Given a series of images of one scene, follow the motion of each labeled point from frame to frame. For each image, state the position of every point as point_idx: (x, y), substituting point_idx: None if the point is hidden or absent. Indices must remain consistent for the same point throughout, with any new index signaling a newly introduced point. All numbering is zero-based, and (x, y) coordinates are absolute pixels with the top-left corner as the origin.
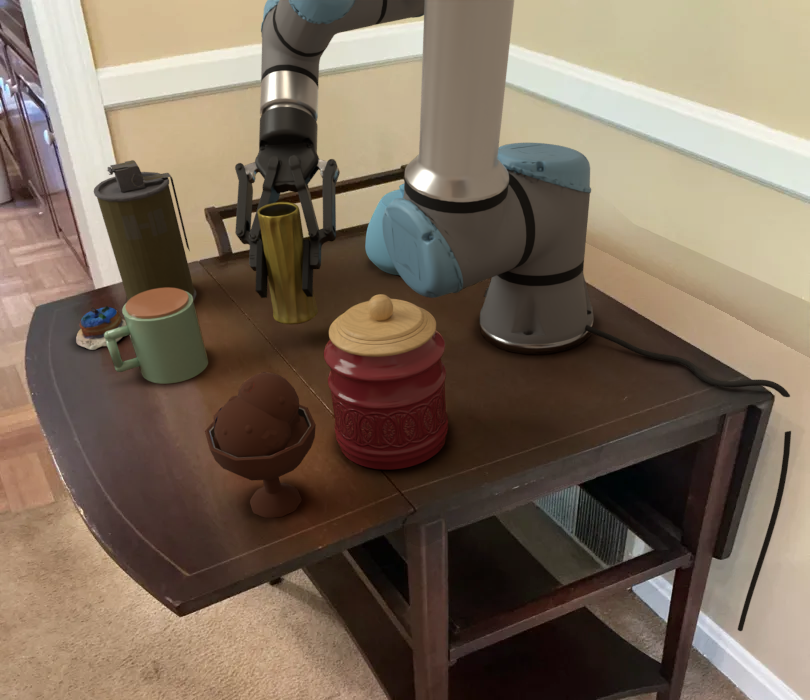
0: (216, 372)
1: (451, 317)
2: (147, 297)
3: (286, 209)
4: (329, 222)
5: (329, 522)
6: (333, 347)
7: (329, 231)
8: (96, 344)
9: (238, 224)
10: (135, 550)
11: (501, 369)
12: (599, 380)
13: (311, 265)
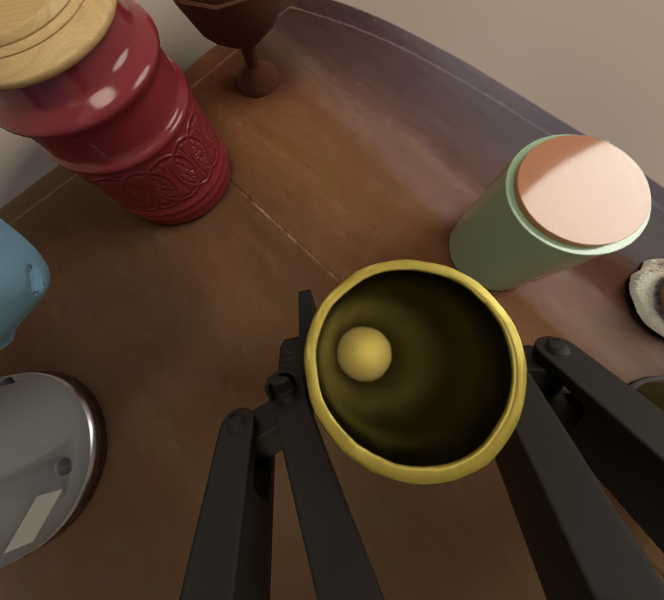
0: (429, 247)
1: (153, 467)
2: (616, 196)
3: (410, 453)
4: (224, 451)
5: (207, 72)
6: (124, 4)
7: (230, 414)
8: (651, 266)
9: (593, 369)
10: (343, 13)
11: (77, 330)
12: None
13: (298, 337)
